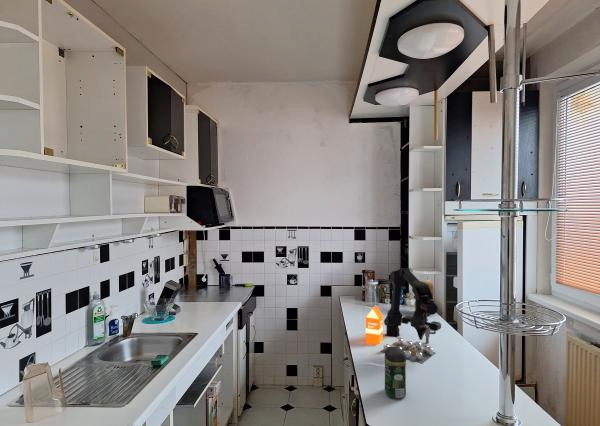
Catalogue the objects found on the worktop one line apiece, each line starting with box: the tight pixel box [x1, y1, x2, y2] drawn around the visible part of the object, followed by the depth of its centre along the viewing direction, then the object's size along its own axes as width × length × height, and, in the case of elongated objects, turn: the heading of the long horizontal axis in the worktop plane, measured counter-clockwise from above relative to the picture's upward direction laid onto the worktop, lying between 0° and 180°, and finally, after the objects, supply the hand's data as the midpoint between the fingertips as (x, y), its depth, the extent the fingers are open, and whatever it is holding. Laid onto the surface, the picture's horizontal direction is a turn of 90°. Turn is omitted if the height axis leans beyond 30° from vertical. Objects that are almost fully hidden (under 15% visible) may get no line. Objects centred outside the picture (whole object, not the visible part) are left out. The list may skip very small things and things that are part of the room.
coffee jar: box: [384, 347, 407, 400], centre depth 156 cm, size 10×8×19 cm
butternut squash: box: [418, 279, 435, 317], centre depth 264 cm, size 14×13×25 cm
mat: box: [379, 341, 437, 365], centre depth 198 cm, size 23×18×1 cm
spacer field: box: [383, 337, 434, 361], centre depth 197 cm, size 22×18×4 cm
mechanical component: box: [424, 328, 437, 345], centre depth 210 cm, size 3×10×10 cm, turn 78°
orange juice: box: [365, 305, 384, 346], centre depth 214 cm, size 8×9×20 cm
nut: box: [409, 346, 418, 355], centre depth 196 cm, size 4×5×3 cm
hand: (420, 339), depth 193 cm, fingers closed
